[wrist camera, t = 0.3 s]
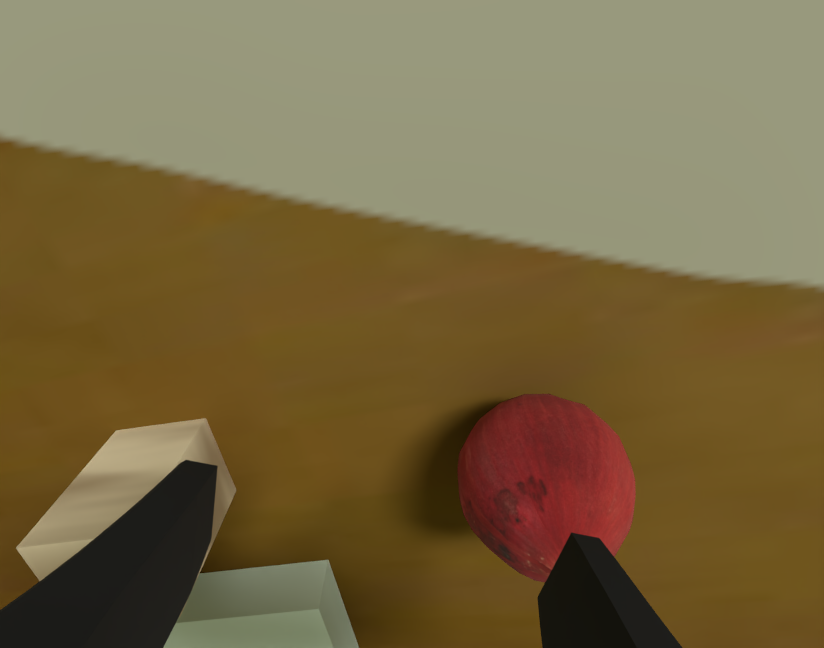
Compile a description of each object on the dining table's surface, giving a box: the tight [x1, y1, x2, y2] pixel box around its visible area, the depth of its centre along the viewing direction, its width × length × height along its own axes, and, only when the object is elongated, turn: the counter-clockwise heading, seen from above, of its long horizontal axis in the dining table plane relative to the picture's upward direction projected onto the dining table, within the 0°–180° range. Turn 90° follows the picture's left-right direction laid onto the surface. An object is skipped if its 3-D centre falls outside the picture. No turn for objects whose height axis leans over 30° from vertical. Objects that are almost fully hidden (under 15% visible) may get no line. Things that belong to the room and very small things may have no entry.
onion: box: [457, 394, 635, 582], centre depth 17 cm, size 6×6×8 cm
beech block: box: [16, 418, 236, 617], centre depth 20 cm, size 4×4×6 cm
